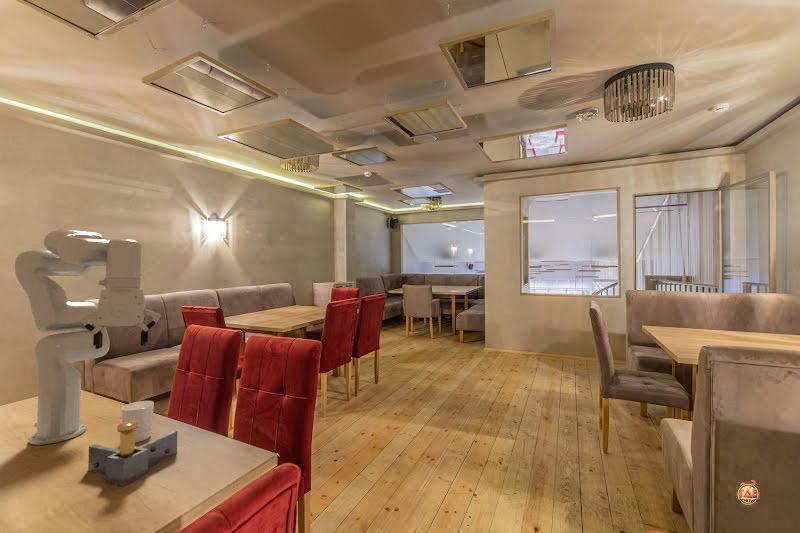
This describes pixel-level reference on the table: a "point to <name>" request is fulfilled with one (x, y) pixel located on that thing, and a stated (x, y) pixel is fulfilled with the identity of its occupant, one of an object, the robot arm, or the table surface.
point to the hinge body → (131, 459)
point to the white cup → (139, 418)
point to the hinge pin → (127, 438)
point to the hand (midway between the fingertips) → (121, 346)
